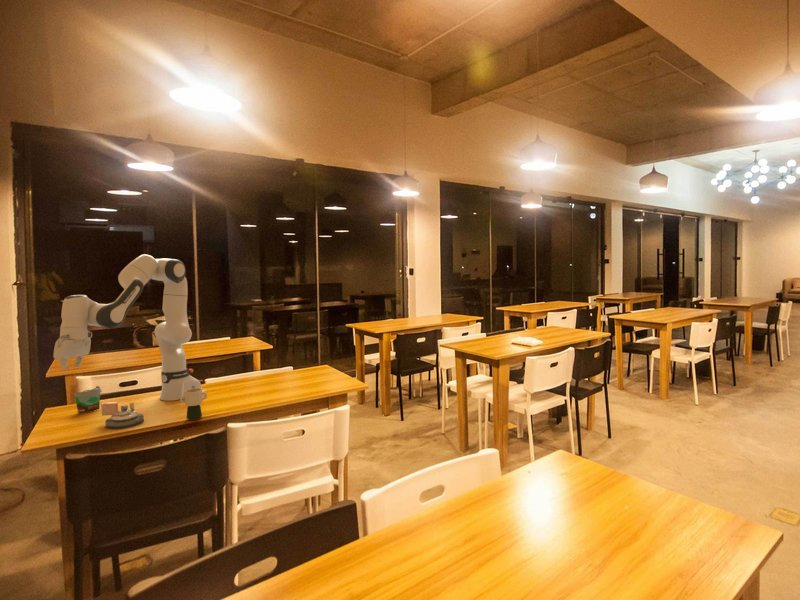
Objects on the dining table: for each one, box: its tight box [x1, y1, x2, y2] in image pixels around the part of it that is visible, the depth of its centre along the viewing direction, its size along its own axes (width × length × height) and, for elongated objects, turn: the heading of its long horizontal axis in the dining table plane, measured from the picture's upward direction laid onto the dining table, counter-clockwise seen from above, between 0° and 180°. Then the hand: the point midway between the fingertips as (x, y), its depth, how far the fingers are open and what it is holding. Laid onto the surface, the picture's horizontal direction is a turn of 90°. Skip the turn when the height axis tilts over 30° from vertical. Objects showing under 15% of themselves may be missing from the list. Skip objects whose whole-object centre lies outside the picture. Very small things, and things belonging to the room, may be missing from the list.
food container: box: [73, 385, 102, 414], centre depth 207 cm, size 12×6×10 cm, turn 168°
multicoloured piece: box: [100, 401, 139, 422], centre depth 189 cm, size 14×10×7 cm
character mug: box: [179, 387, 208, 421], centre depth 193 cm, size 11×7×13 cm, turn 128°
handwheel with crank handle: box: [104, 402, 145, 430], centre depth 189 cm, size 14×14×8 cm
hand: (71, 368), depth 179 cm, fingers open, 8 cm apart
